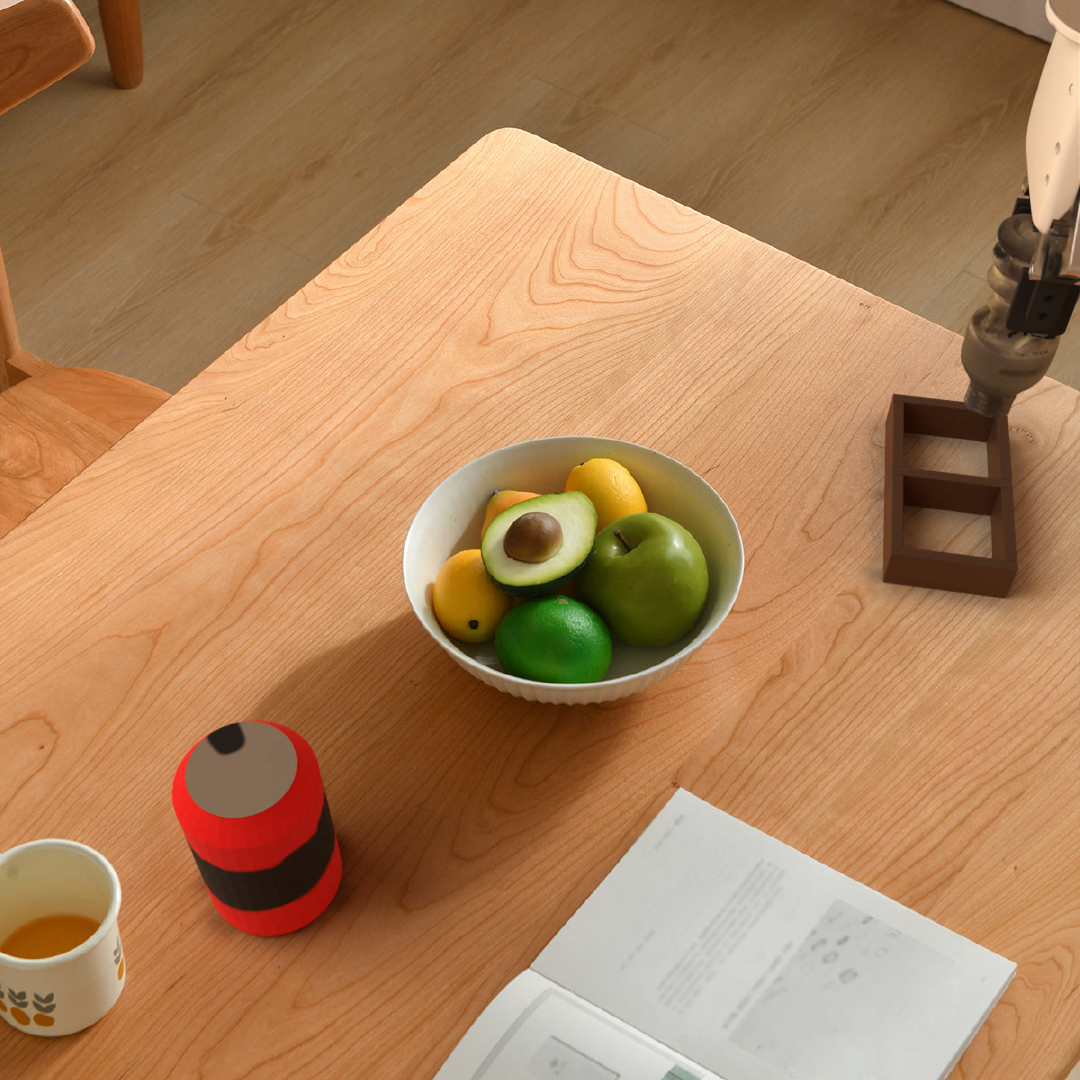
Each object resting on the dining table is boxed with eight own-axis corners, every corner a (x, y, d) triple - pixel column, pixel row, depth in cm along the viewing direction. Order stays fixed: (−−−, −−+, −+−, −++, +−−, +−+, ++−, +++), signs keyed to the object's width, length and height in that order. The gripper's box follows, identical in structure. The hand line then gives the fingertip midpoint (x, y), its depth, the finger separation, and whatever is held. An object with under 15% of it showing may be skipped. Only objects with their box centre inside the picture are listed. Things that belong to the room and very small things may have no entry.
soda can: (309, 796, 81) (279, 683, 72) (365, 897, 77) (341, 790, 68) (190, 856, 79) (144, 746, 70) (241, 963, 75) (199, 862, 65)
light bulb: (1011, 380, 87) (1082, 180, 75) (1049, 439, 83) (1130, 240, 72) (928, 392, 86) (987, 193, 74) (963, 453, 82) (1031, 254, 71)
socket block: (1006, 598, 91) (1018, 570, 89) (882, 582, 92) (890, 554, 90) (996, 435, 101) (1007, 406, 99) (885, 422, 102) (893, 393, 100)
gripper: (1248, 97, 57) (1112, 405, 71) (1195, -87, 68) (1085, 211, 82) (1066, 80, 58) (966, 388, 72) (1042, -99, 69) (959, 199, 83)
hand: (1031, 291), depth 77 cm, fingers closed on light bulb, 5 cm apart
